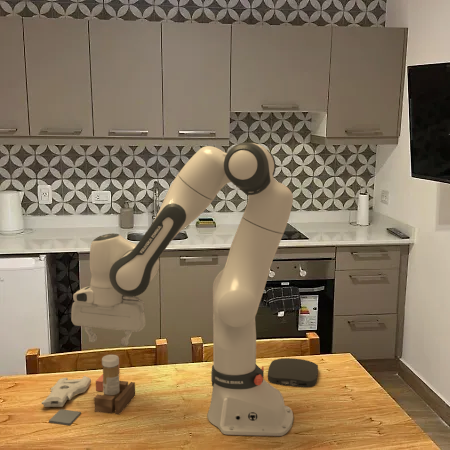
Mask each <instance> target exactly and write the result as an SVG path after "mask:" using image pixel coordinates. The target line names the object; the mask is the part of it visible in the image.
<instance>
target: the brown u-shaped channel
mask: <svg viewBox="0 0 450 450" xmlns="http://www.w3.org/2000/svg"><path fill="white" fill-rule="evenodd" d="M119 388H120V391H119V396H118V397H117V398H116V399H115V396H107V395H104V394H99V393H98V394H97V395H95V396H94V397H93V400H94V401H93V402H94V412H96V413H104V414H110V415H113V413H114V415H117V416H119V415H121V413H122V412H123V411H124V410H125V409H126V407H127V406H128V405H129V404H130V402H131V401H132V400H133V399H134V398H135V397H136V382H134V381H130V382H129V381H127V380H126V381H125V380H119ZM134 396H135V397H134Z"/></svg>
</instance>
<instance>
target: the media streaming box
mask: <svg viewBox="0 0 450 450" xmlns="http://www.w3.org/2000/svg"><path fill="white" fill-rule="evenodd" d="M318 373H319V365H318V364H317V363H315V362H313V361H310V360H307V359H302V358H293V357H292V358H290V357H289V358H288V357H284V358H277V359H274V360H272V361H271V362H270V364H269V367H268V370H267V382H268V383H271V384H273V385H278V386H287V387H296V388H312V387H314V386H315V385H316V384H317V381H318V375H319V374H318Z"/></svg>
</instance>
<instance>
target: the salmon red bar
mask: <svg viewBox="0 0 450 450" xmlns="http://www.w3.org/2000/svg"><path fill="white" fill-rule="evenodd" d="M118 366H119V367H120V364H119V365H118ZM120 371H121V370H120V369H119V373H120ZM95 391H96V392H102V391H103V373H102V374H101V375H100V376H99V377H98V378H97V379H96V380H95ZM103 392H104V391H103Z"/></svg>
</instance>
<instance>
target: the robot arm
mask: <svg viewBox="0 0 450 450" xmlns="http://www.w3.org/2000/svg"><path fill="white" fill-rule="evenodd" d="M276 166H277V165H276V160H275V157H274V155H273V154H272V152H271V151H269V149H267V148H265V146H264V145H262V144H258V143H255V142H241V143H238V144H235V145H233V147H231V148H230V149H229V150H227V152H225V151H223V150H221V149H220V148H218V147H215V146H212V145H207V146H206V145H205V146H203V147H201V148H199V149H198V150H197V152H195V153H194V154H193V155H192V157H190V159H189V160H188V161H187V162H186V163H184V166H183V167H182V168H181V169H180V171H179V172H178V173H177V175H176V176H175V178H174V179H173V181H172V183H171V185H170V186H169V188H168V191H167V192H166V194H165V196H164V198H163V201H162V203H161V206H160V208H159V211H158V212H157V213H156V216H155V218H154V220H153V221H152V224H151V225H150V226H149V227H148V229H147V230H146V232H145V233H144V235H143V236H142V237H141V238H140V240H139V241H138V242H137V243H134V242H131V241H129V240H128V239H125V238H124V237H123V236H122V235H121V234H119V233H107V234H102V235H99V236H97V237H95V239H93V240H92V241H91V244H90V248H89V249H90V250H89V269H90V273H91V278H90V282H89V283H90V284H89V286H86V287H85V286H84V287H82V288H81V289H78V290H77V291H76V292H75V293H73V294H72V298H73V299H72V300H73V301H74V302H72V305H71V311H70V313H71V314H70V316H71V322H72V324H73V325H74V326H79V327H84V331H85V333H86V334H87V335H88V342H91V343H96V342H97V340H98V337H97V334H96V333H94V331H93V329H92V328H96V329H98V328H99V329H106V330H117V331H123V332H124V334H125V336H124V337H122V338H121V339H120V340H121V341H120V342H121V343H120V344H121V346H126V347H127V346H128V345H129V344H130V338H131V335H132V333H133V332H136V333H139V332H141V331H142V330H143V329H144V328H145V327H146V316H145V301H144V300H143V299H142V298H140V295H142V294H143V293H144V292H145V291H146V290H147V289H148V286H149V285H150V283H151V281H153V279H154V277H155V276H156V275H157V273H158V272H159V269H160V266H161V262H160V258H161V256H162V254H163V253H164V252H165V250H166V249H167V248H168V246H169V245H170V244H171V242H172V241H173V240H174V239H175V238H176V236H178V234H179V233H180V232H182V231H183V230H184V229H185V228H187V227H188V226H189V225H190V224H191V223H193V222H194V221H195V220H196V219H197V218H198V217H200V216H201V214H203V212H205V210H206V209H207V208H208V207H209V206H210V205H211V203H212V202H213V201H214V199H215V198H216V197H217V196H218V193H220V191H221V190H222V189H223V187H225V186H226V185H227V184H229V183H232V184H233V186H235V187H237V188H238V189H239V190H240V191H241V192H242V193H244V194H245V195H247V196H248V197H247V199H248V200H247V204H246V207H245V209H244V212H243V214H242V217H241V219H240V222H239V224H238V227H237V229H236V232H235V234H234V237H233V239H232V242H231V245H230V249H229V252H228V254H227V259H226V263H225V266H224V267H223V269H221V270H220V271H219V272H218V274H217V275H216V276H215V278H214V279H213V284H212V314H213V315H212V322H213V323H212V325H213V326H212V327H213V329H212V330H213V331H212V334H213V335H212V336H213V339H212V340H213V347H212V348H213V349H212V350H213V352H212V353H213V355H212V356H213V359H212V360H213V364H212V366H211V371H210V372H211V373H210V374H211V379H210V381H211V387H212V391H211V392H212V393H211V399H210V404H209V409H208V411H207V414H206V416H207V420H208V421H209V422H210V423H211V424H212V425H213V426H215V427H216V428H218V429H219V430H220V432H221V434H224V435H229V436H231V435H232V436H261V437H262V436H263V437H267V436H268V437H270V436H271V437H273V436H274V437H282V436H285V435H286V434H287V433H288V432H289V431H290V430H291V428H292V427H293V422H294V412H293V410H292V408H291V407H290V406H288V405H285V400H284V396H283V394H282V392H281V391H280V390H279V389H277V388H276V387H275V386H273V385H272V384H270V382H269V381H268V380H266V379H264V377H265V376H264V371H265V370H264V369H265V368H264V366H263V365H262V367H261V368H260V366H259V365H257V330H256V315H257V313H258V309H259V306H260V303H261V300H262V298H263V294H264V291H265V287H266V284H267V281H268V278H269V274H270V271H271V267H272V263H273V260H274V258H275V256H276V253H277V251H278V249H279V245H280V243H281V240H282V238H283V236H284V233H285V231H286V228H287V226H288V222H289V219H290V216H291V212H292V206H293V202H294V196H293V193H292V190H290V188H288V186H287V185H285V184H283V183H282V182H280V181H277V180H276V178H274V175H275V173H276V169H277V168H276Z"/></svg>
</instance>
